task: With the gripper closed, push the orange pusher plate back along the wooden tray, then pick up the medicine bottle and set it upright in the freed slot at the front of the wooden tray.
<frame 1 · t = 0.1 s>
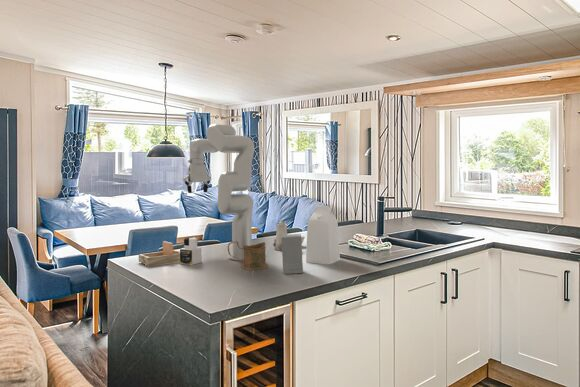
hand: (197, 192, 252), 31 cm above the worktop, tool pointing down, fingers open, 9 cm apart
pusher plate: (167, 250, 214), point 5 cm above the worktop, slide at 0.0 cm
medicine bottle: (191, 263, 209), on the worktop
wooden tray: (162, 262, 213), on the worktop
milk: (323, 261, 209), on the worktop
skincare box: (292, 273, 186), on the worktop
mug: (248, 268, 197), on the worktop
chinaware: (287, 249, 244), on the worktop
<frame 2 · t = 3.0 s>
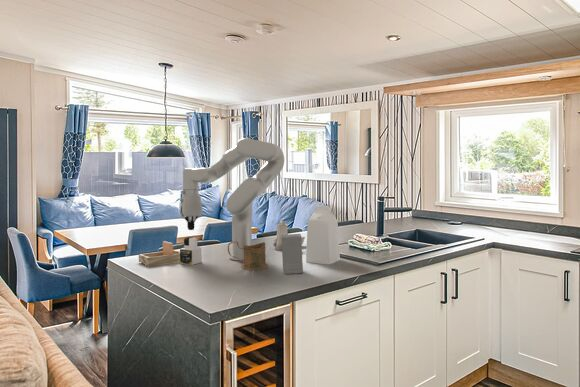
hand: (190, 229, 222), 14 cm above the worktop, tool pointing down, fingers closed
nothing on the worktop moved.
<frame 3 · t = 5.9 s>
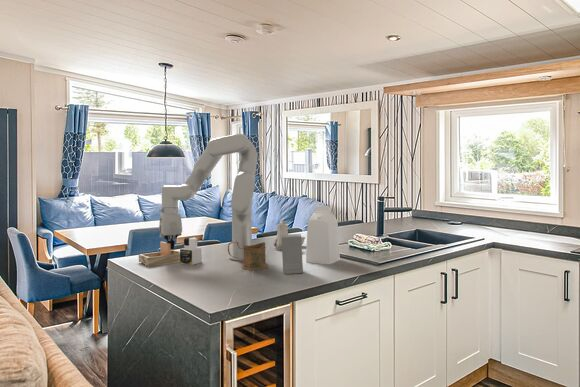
hand: (170, 248, 215), 6 cm above the worktop, tool pointing down, fingers closed
pusher plate: (165, 250, 213), point 5 cm above the worktop, slide at 1.3 cm, touching gripper
everything else where it was.
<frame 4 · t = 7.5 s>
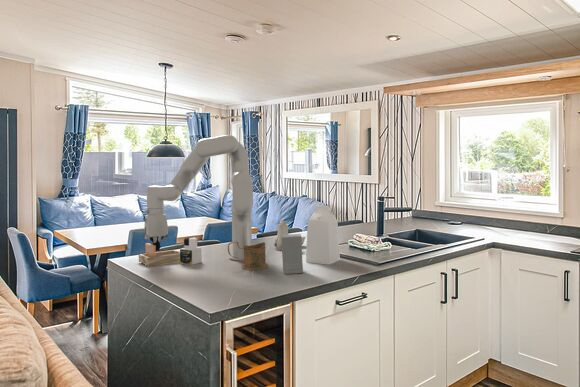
hand: (156, 250, 211), 6 cm above the worktop, tool pointing down, fingers closed
pusher plate: (150, 252, 209), point 5 cm above the worktop, slide at 8.5 cm, touching gripper
everything else where it was.
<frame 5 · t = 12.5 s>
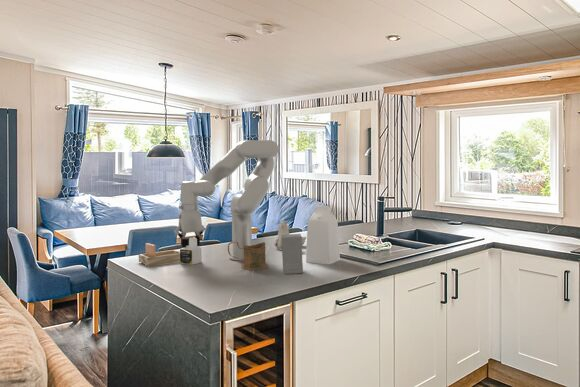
hand: (190, 245, 209), 8 cm above the worktop, tool pointing down, fingers closed on medicine bottle, 6 cm apart
pusher plate: (150, 252, 209), point 5 cm above the worktop, slide at 8.5 cm
medicine bottle: (191, 263, 209), on the worktop, touching gripper
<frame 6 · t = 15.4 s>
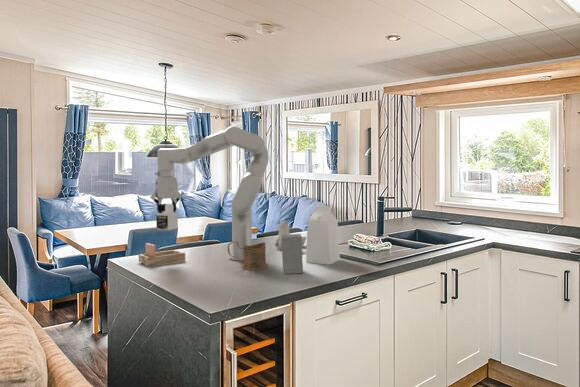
hand: (166, 212, 213), 24 cm above the worktop, tool pointing down, fingers closed on medicine bottle, 6 cm apart
medicine bottle: (167, 229, 213), point 15 cm above the worktop, touching gripper
when the fingers open (10 cm above the worktop, at t = 18.5 s): medicine bottle drops 1 cm, resting on wooden tray.
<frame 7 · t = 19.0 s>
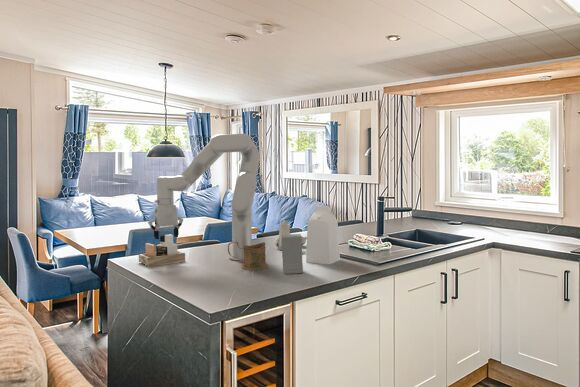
hand: (166, 237, 214), 11 cm above the worktop, tool pointing down, fingers open, 9 cm apart
medicine bottle: (167, 259, 214), point 1 cm above the worktop, touching wooden tray
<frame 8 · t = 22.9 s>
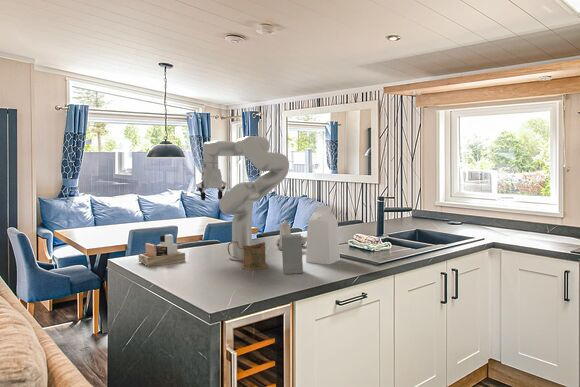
hand: (211, 199, 230), 28 cm above the worktop, tool pointing down, fingers open, 9 cm apart
at the end: medicine bottle inside the target area on the wooden tray (0.5 cm from its centre), point 0.8 cm above the wooden tray's base; medicine bottle tilted 0°; pusher plate slide at 8.5 cm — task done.
